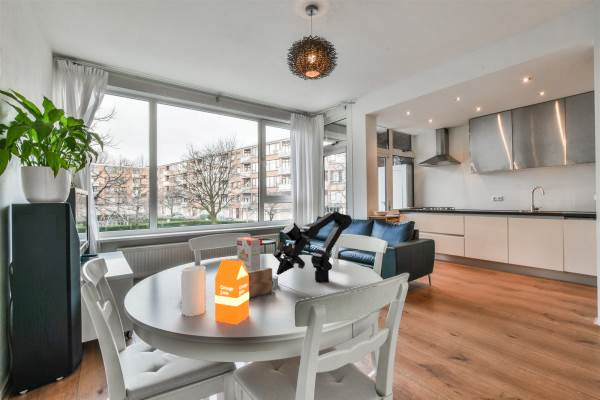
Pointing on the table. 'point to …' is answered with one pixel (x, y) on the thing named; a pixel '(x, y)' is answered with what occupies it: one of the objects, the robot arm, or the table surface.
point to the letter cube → (274, 281)
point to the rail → (262, 295)
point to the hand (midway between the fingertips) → (277, 274)
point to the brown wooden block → (260, 282)
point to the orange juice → (231, 292)
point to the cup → (193, 290)
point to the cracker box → (249, 253)
